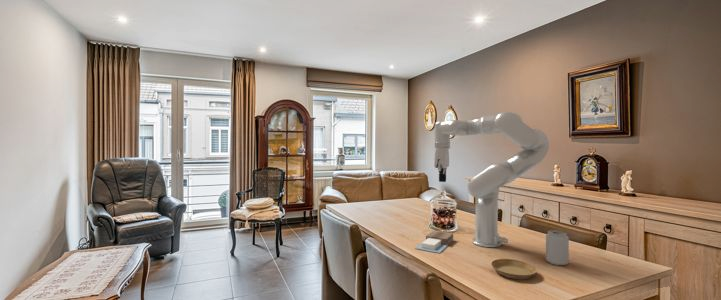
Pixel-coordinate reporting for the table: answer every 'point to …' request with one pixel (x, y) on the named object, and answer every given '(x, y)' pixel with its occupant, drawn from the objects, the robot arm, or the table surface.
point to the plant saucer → (513, 268)
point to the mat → (437, 250)
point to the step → (441, 237)
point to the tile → (431, 243)
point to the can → (557, 247)
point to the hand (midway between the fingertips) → (442, 181)
